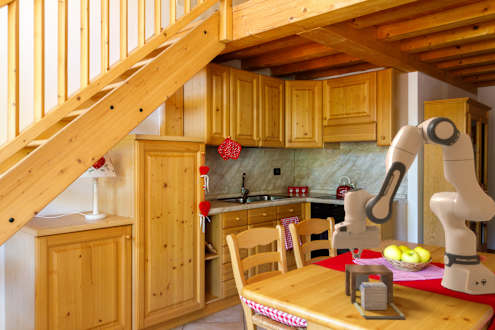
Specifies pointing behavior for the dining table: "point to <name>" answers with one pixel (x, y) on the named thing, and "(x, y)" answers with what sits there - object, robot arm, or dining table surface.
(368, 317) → the dark grey bar
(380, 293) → the medicine box
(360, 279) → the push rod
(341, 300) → the dining table surface
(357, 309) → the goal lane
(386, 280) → the tunnel
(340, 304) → the dining table surface
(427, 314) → the dining table surface
